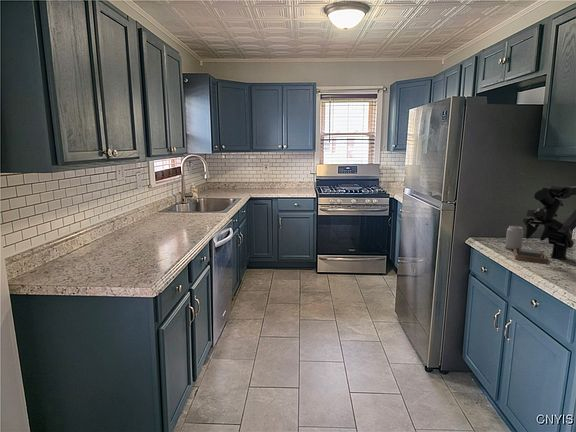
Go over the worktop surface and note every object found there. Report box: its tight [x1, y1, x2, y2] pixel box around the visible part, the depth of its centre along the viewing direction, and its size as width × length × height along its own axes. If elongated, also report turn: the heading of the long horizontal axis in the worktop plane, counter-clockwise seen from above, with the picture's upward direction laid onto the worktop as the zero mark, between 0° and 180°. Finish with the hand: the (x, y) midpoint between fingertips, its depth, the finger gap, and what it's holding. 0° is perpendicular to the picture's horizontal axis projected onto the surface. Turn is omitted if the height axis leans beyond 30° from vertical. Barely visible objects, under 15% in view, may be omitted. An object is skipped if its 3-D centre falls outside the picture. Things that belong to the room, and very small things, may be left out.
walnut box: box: [513, 248, 548, 264], centre depth 182 cm, size 15×13×2 cm
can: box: [504, 225, 524, 251], centre depth 196 cm, size 8×8×12 cm
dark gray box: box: [518, 248, 542, 258], centre depth 182 cm, size 5×9×4 cm, turn 59°
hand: (533, 239), depth 173 cm, fingers open, 9 cm apart
